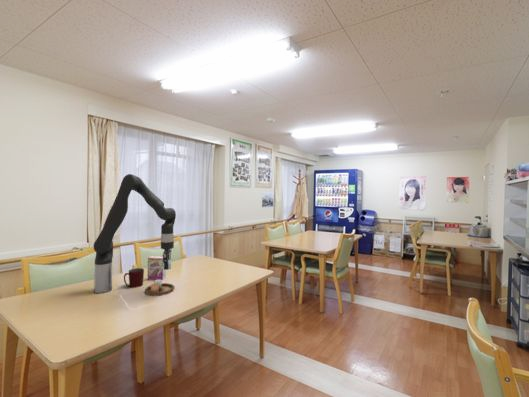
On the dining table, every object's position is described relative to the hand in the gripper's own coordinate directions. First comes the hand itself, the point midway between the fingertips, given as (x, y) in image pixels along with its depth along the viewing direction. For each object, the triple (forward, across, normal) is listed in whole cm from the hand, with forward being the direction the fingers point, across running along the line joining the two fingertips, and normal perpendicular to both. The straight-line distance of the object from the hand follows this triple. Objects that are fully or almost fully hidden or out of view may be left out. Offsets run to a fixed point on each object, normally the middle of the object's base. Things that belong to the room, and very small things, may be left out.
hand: (167, 268), depth 163 cm
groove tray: (+15, 0, -4) cm, 16 cm away
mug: (+15, -10, -22) cm, 29 cm away
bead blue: (0, 0, 0) cm, 0 cm away
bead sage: (+14, -4, -6) cm, 16 cm away
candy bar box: (+15, -23, -12) cm, 30 cm away
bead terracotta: (+14, +4, -6) cm, 15 cm away
